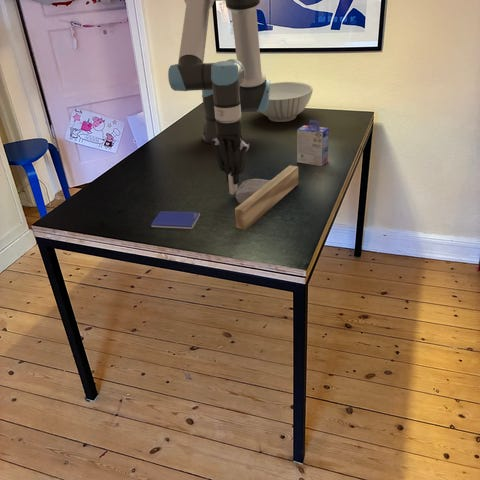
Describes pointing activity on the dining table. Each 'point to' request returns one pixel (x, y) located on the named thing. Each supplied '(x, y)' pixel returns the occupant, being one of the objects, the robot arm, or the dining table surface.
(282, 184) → the oak board
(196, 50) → the robot arm
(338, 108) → the dining table surface
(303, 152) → the ink cartridge box
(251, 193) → the stone block
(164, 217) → the hard drive
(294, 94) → the decorative bowl
